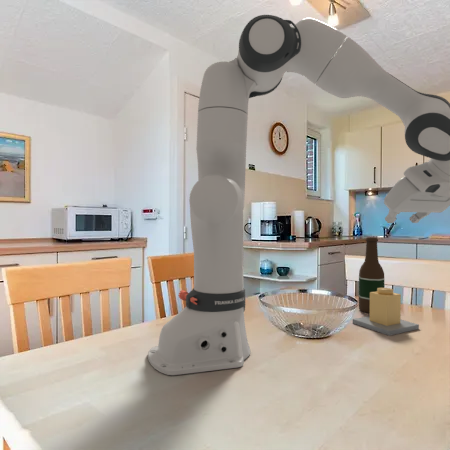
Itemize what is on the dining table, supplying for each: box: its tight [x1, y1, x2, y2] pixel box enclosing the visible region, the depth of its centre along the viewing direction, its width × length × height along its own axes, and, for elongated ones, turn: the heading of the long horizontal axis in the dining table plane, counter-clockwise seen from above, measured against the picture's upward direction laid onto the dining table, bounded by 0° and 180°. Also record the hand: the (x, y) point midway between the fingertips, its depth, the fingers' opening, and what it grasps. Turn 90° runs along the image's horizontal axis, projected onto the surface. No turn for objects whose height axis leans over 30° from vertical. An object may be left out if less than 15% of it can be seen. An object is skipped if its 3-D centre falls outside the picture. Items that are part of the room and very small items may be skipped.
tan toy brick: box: [369, 287, 402, 326], centre depth 98 cm, size 6×6×9 cm
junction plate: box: [352, 315, 420, 336], centre depth 98 cm, size 12×12×4 cm
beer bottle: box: [358, 236, 385, 314], centre depth 114 cm, size 8×8×24 cm
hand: (400, 221), depth 89 cm, fingers open, 8 cm apart
